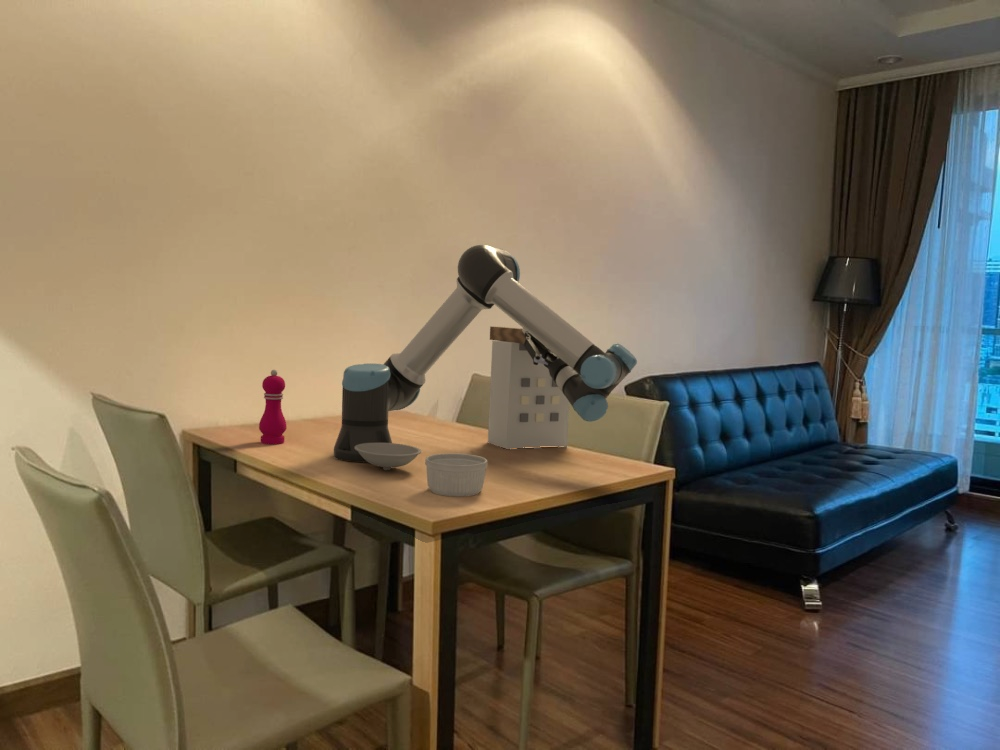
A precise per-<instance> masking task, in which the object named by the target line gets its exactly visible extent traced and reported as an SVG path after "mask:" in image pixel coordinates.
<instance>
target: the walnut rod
mask: <svg viewBox="0 0 1000 750" xmlns="http://www.w3.org/2000/svg"><path fill="white" fill-rule="evenodd" d="M522 329H523V327H521V328H520V327H519V328H518V327H510V326H509V327H506V326H489V340H491V341H505V342H514V343H523V344H524V342H525V339H526V338H525V336H524V335H525V334H524V333H523V331H522ZM544 346H545V345H544Z"/></svg>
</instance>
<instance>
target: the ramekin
mask: <svg viewBox="0 0 1000 750" xmlns="http://www.w3.org/2000/svg"><path fill="white" fill-rule="evenodd" d="M424 464H425V467H426V482H427V486H428V489H429V490H430V491H431V492H432V493H434V494H437V495H438V496H439V495H440V496H443V497H444V496H447V497H459V498H460V497H472V496H475V495H478V494H479V493H480V492H481V491H482V489H483V487H484V483H485V478H486V470H487V467H488V459H486V458H485V457H483V456H480V455H476V454H475V455H474V454H469V453H459V452H458V453H457V452H456V453H455V452H454V453H453V452H451V453H448V452H447V453H434V454H431V455H428V456H426V457H425V462H424Z"/></svg>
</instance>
